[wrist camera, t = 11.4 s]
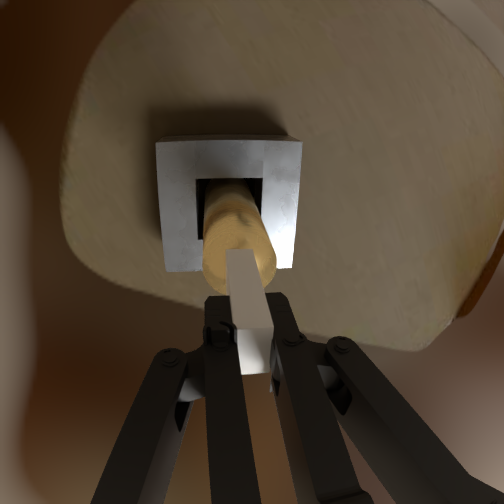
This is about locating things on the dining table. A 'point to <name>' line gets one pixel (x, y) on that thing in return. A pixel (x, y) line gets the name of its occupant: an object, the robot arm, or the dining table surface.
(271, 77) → the dining table surface
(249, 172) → the block
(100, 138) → the dining table surface
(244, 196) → the brass cylinder rod
